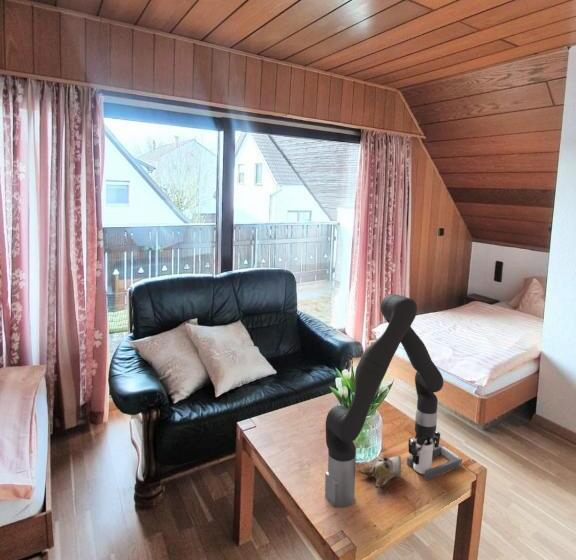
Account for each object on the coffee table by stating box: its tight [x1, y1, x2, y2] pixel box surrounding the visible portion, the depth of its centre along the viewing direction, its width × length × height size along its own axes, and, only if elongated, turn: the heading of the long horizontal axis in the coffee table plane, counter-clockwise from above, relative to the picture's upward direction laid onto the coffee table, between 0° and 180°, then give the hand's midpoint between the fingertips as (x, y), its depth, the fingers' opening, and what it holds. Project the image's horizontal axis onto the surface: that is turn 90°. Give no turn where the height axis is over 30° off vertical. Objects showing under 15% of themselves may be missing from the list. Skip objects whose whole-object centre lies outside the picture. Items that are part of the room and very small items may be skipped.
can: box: [412, 442, 433, 475], centre depth 162 cm, size 6×6×12 cm
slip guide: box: [406, 444, 463, 481], centre depth 166 cm, size 18×10×3 cm, turn 118°
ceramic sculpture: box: [359, 455, 402, 489], centre depth 158 cm, size 11×9×15 cm
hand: (422, 460), depth 163 cm, fingers closed on can, 6 cm apart
